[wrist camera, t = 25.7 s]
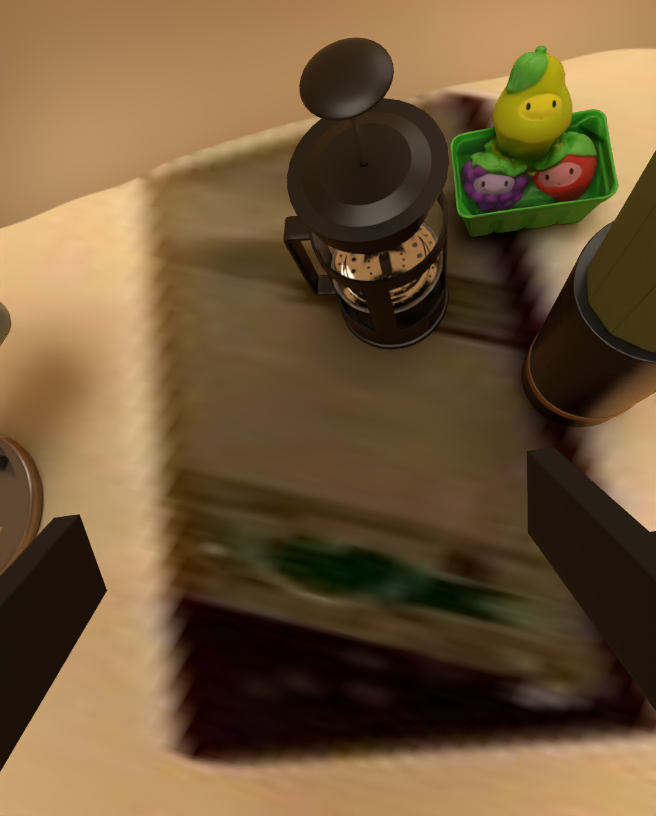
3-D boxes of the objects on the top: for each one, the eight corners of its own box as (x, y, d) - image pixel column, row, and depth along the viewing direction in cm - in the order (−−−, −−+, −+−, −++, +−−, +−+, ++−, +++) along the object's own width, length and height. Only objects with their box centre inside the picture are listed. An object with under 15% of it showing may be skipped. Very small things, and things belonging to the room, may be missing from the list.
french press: (457, 245, 43) (473, -40, 21) (456, 348, 41) (473, 152, 19) (325, 253, 45) (218, 7, 24) (319, 350, 44) (195, 180, 22)
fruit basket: (455, 253, 43) (460, 163, 32) (448, 165, 45) (449, 53, 34) (599, 234, 40) (656, 130, 30) (583, 142, 42) (632, 13, 32)
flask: (521, 426, 38) (600, 335, 19) (520, 328, 40) (592, 156, 21) (637, 429, 37) (851, 333, 18) (631, 326, 38) (820, 136, 19)
